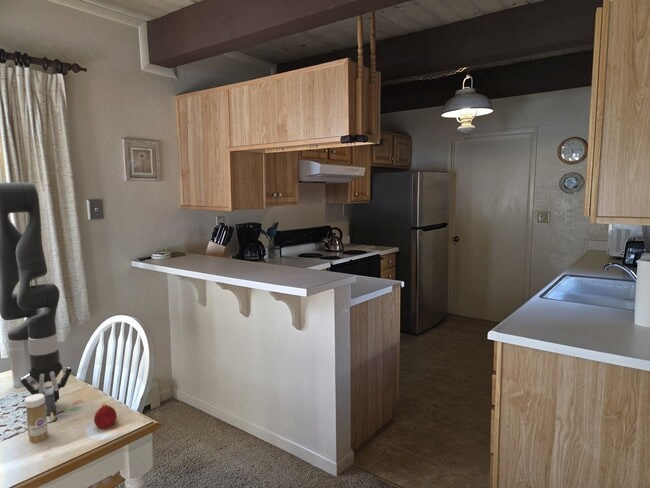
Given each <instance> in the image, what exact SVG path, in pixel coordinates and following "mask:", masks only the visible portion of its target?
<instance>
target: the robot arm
mask: <svg viewBox="0 0 650 488" xmlns="http://www.w3.org/2000/svg"><path fill="white" fill-rule="evenodd" d="M39 198H40V196H39V194H38V190H37V188H36V185H35V184H34V183H33V182H28V181H27V182H18V181H17V182H15V181H14V182H0V317H1V319H2V320H4V321H14V320H21V319H25V320H23V322H21V323H20V324H18V325H16V326H14V327H11V328H10V329H9V330H8V331H7V339H8V341H7V342H8V348H9V355H10V356H9V357H10V365H11V373H12V382H13V383H12V384H13V387H14V388H17V389H20V388H24V387H25V389H26V390H27V391H28V392H29V393H30V394H31V395H34V394H43V395H44V392H43V388H44V387H45V384H46V383H48V382H51V384H52V388H53V391H54V397H55V403H58V401H59V400H60V392H59V390H60V389H62V388H65V386H66V385H67V382H68V380H69V378H70V375H71V373H72V367H71V366H69V365H68V366H63V365H62V363H61V357H60V348H59V347H60V344H59V339H58V335H57V334H58V333H57V325H56V315H57V309H58V305H59V301H60V290H59V288H58V286H57V285H56V284H54V283H50V282H49V283H43V284H35V285H31V282H32V281H33V280H36V279H39V278H42V277H45V276H46V275H47V273H48V266H47V261H46V258H45V257H46V256H45V251H44V249H43V248H44V247H43V238H42V222H41V221H42V219H41V218H42V217H41V207H40V206H41V205H40V199H39ZM17 213H22V214H23V213H27V218H28V219H27V224H26V227H25V229H24V231H23V233H22V232H21V231H19V229H18V228H17V227H16V226H15V225H14V223H13V222H12V220H11V219H10V217H9V215H10V214H17ZM17 285H18V290H17V291H16V292H14V290H15V288H16V287H17ZM39 309H43V311H42V312H41V313H40V312H39ZM61 372H62V376H61V378H60V380H59V382H57V381H58V380H57V378H58V377H59V375H60V373H61ZM36 384H37V387H36V388H35V386H34V385H36Z"/></svg>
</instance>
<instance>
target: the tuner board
mask: <svg viewBox="0 0 650 488" xmlns="http://www.w3.org/2000/svg"><path fill="white" fill-rule="evenodd" d="M84 402H85V401H84V398H81V399H79V400H75V401H72V402H71V401H70V402H68V406H69V407H67V409H65V410H64V411H65V412H77V411H78V412H79V411H80V409H82V406H75V405H79V404H81V403H84ZM69 416H70V415H68V414H66V413H64V412H60V413H58V414H57V413H56V414H54V417H56V418H58V419H60V420H64V419H66V418H68V417H69Z"/></svg>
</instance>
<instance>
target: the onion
mask: <svg viewBox="0 0 650 488" xmlns="http://www.w3.org/2000/svg"><path fill="white" fill-rule="evenodd" d="M93 418H94V419H93V422H94V425H95V427H97V428H99V429H101V430H102V429H108V428H111V427H113V426H114V425H115V422H116V421H117V418H118V415H117V412H116V409H115V408H114V407H113V406H110V405H107V404H106V403H105V402H102V405H101V407H99V409H97V411H96V412H95V414H94V417H93Z"/></svg>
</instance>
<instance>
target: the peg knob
mask: <svg viewBox="0 0 650 488" xmlns="http://www.w3.org/2000/svg"><path fill="white" fill-rule="evenodd" d="M43 392H44V396H45V411H46V416H50V417H51V421H55V415H56V414H57V410H56V409H57V408H56V402H55V397H54V391H53V385H45V386H44V387H43Z"/></svg>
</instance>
